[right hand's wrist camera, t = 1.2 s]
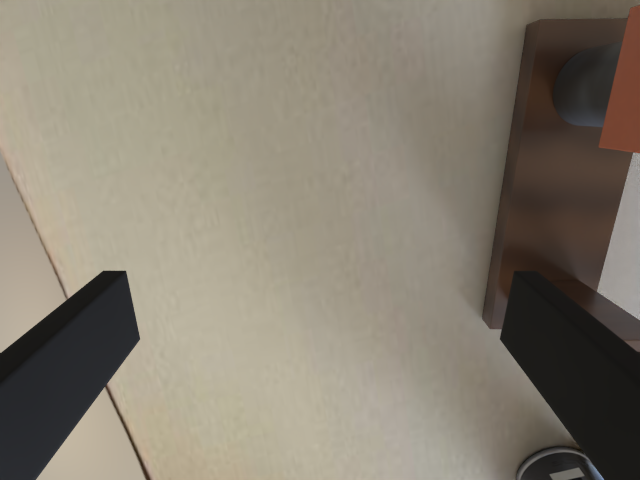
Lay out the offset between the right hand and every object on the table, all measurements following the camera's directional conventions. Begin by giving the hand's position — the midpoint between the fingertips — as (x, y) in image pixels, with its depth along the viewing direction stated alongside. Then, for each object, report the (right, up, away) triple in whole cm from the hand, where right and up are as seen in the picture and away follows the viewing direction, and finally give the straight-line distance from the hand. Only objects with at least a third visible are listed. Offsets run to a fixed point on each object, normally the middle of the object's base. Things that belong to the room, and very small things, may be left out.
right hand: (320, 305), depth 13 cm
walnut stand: (+22, +7, +23) cm, 33 cm away
